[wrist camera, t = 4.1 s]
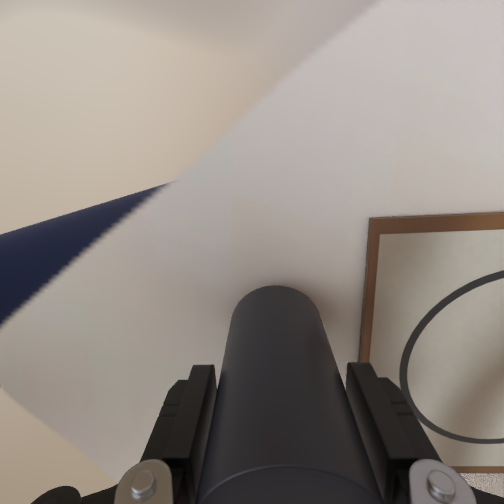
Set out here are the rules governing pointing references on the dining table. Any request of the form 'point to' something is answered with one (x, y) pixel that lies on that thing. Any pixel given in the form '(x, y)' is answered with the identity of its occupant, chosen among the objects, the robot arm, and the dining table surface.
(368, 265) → the clipboard
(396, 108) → the dining table surface
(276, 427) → the dark gray cylinder
